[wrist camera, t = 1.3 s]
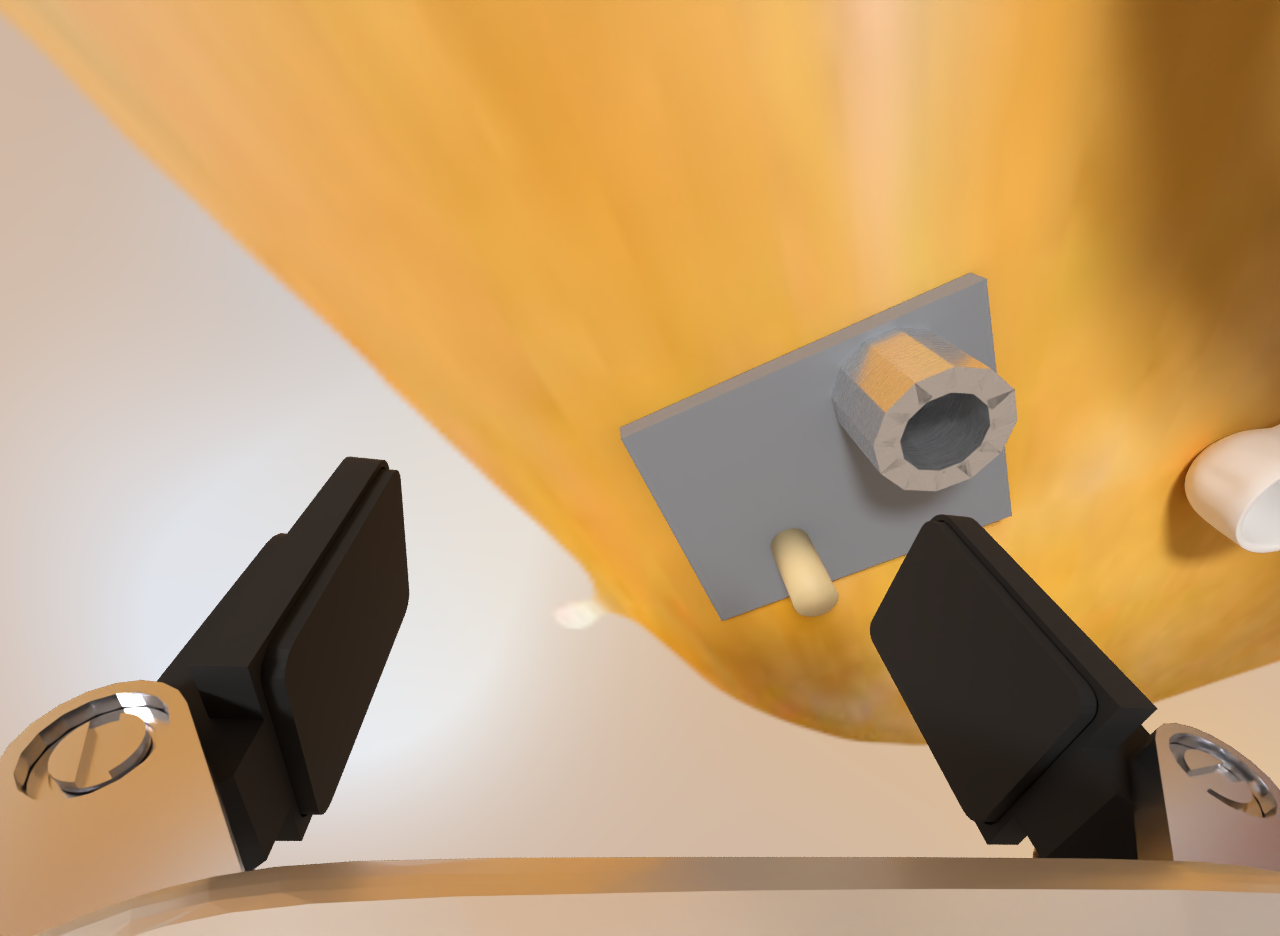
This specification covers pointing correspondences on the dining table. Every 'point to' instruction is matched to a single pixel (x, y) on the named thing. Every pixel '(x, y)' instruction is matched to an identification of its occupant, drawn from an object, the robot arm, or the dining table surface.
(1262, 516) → the teacup
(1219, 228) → the dining table surface
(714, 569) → the stand
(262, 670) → the robot arm
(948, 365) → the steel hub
